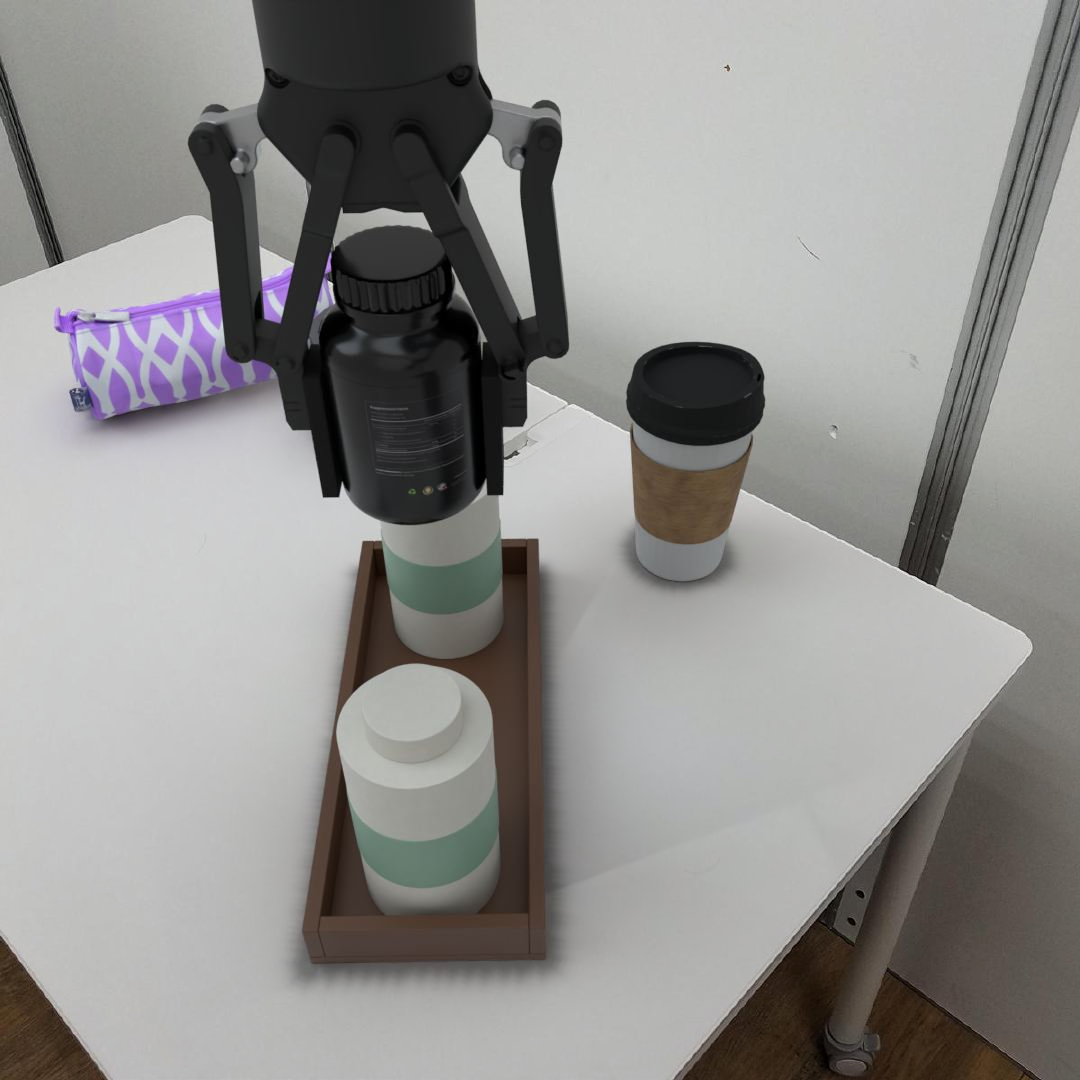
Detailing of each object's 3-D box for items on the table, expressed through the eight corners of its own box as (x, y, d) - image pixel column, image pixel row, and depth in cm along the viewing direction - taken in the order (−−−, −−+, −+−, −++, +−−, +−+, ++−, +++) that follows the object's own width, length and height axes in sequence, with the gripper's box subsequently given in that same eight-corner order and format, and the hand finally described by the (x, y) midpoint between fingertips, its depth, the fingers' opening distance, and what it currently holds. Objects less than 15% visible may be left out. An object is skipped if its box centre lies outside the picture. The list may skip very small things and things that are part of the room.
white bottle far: (520, 641, 70) (515, 471, 61) (412, 673, 68) (390, 503, 59) (482, 568, 75) (473, 401, 66) (380, 596, 73) (356, 429, 64)
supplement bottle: (331, 454, 54) (293, 224, 46) (467, 428, 56) (453, 201, 47) (357, 545, 49) (318, 306, 41) (505, 514, 51) (497, 277, 43)
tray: (539, 571, 75) (538, 537, 73) (545, 959, 55) (545, 927, 53) (367, 574, 75) (362, 540, 73) (310, 963, 55) (301, 931, 53)
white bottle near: (521, 902, 57) (515, 736, 48) (386, 951, 55) (353, 788, 46) (475, 793, 62) (462, 623, 52) (350, 835, 60) (313, 666, 51)
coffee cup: (730, 606, 73) (759, 419, 63) (604, 581, 75) (613, 396, 65) (748, 524, 79) (778, 342, 69) (632, 502, 81) (644, 322, 71)
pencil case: (87, 447, 86) (50, 342, 80) (71, 385, 92) (35, 283, 86) (361, 378, 93) (347, 276, 86) (329, 324, 99) (314, 225, 93)
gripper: (648, -97, 40) (621, 427, 55) (89, -91, 39) (219, 432, 55) (669, -36, 34) (632, 528, 49) (18, -28, 34) (185, 534, 49)
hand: (415, 477), depth 52 cm, fingers closed on supplement bottle, 7 cm apart
